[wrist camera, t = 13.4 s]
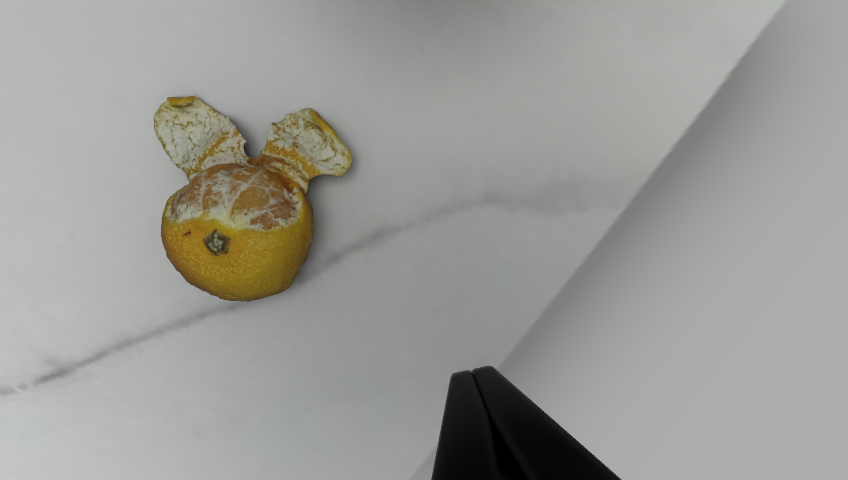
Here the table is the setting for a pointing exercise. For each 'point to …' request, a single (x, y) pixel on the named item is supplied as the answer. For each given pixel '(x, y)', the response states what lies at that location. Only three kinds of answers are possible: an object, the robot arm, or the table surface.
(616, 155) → the table surface
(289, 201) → the fruit
